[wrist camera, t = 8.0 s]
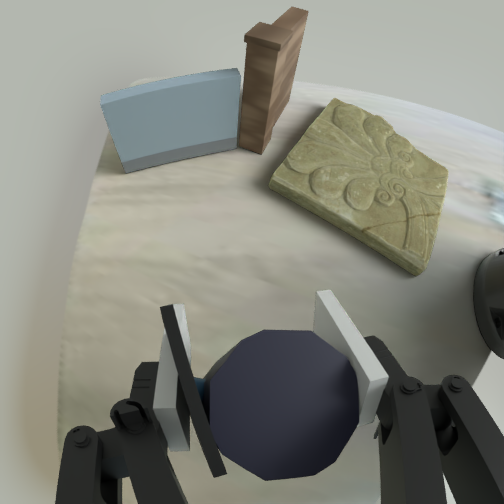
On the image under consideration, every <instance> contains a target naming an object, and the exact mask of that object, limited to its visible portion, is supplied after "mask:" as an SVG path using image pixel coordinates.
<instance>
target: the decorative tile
mask: <svg viewBox="0 0 504 504" xmlns="http://www.w3.org/2000/svg"><path fill="white" fill-rule="evenodd" d="M447 181H448V170H447V169H446V168H444V167H443V166H442V165H440V164H439V163H437V162H435V161H433V160H432V159H430V158H429V157H427V156H426V155H424V154H423V153H421V152H420V151H418V150H417V149H416V148H415V147H414V146H413V145H412V144H411V143H410V142H409V141H408V140H407V139H406V138H404V137H402V136H400V135H398V134H396V133H395V131H394V129H393V127H392V126H391V125H390V124H389V123H388V122H387V121H386V120H385V119H384V118H383V117H381V116H377V115H375V116H374V115H372V114H371V113H368V112H367V111H365V110H363V109H361V108H359V107H357V106H354V105H351V104H346V103H344V102H342V101H340V100H338V99H337V98H334V99H333V100H332V101H331V102H330V103H329V104H328V105H327V107H326V108H325V109H324V110H323V111H322V113H321V114H320V115H319V116H318V117H317V118H316V119H315V121H314V122H313V123H312V124H311V125H310V126H309V128H308V129H307V130H306V132H305V133H304V135H303V136H302V137H301V139H300V140H299V141H298V143H297V144H296V145H295V146H294V147H293V148H292V150H291V151H290V152H289V154H288V155H287V157H286V158H285V159H284V161H283V162H282V163H281V165H280V166H279V167H278V168H277V169H276V171H275V172H274V173H273V175H272V176H271V179H270V182H269V184H268V185H269V188H270V189H272V190H273V191H275V192H277V193H279V194H280V195H282V196H284V197H286V198H288V199H290V200H291V201H293V202H295V203H296V204H298V205H300V206H302V207H303V208H305V209H307V210H309V211H310V212H312V213H314V214H315V215H317V216H319V217H321V218H322V219H324V220H326V221H327V222H329V223H331V224H333V225H334V226H336V227H338V228H339V229H341V230H343V231H344V232H346V233H348V234H349V235H351V236H353V237H354V238H356V239H357V240H359V241H361V242H362V243H364V244H366V245H367V246H369V247H370V248H372V249H374V250H375V251H377V252H378V253H380V254H382V255H383V256H385V257H386V258H388V259H390V260H391V261H393V262H394V263H396V264H397V265H399V266H400V267H402V268H403V269H405V270H407V271H408V272H410V273H411V274H413V275H414V276H418V275H419V274H420V273H422V272H423V271H424V270H425V269H426V268H427V264H428V261H429V259H430V256H431V253H432V249H433V245H434V242H435V238H436V234H437V229H438V225H439V221H440V216H441V211H442V208H443V203H444V199H445V194H446V189H447Z"/></svg>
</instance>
